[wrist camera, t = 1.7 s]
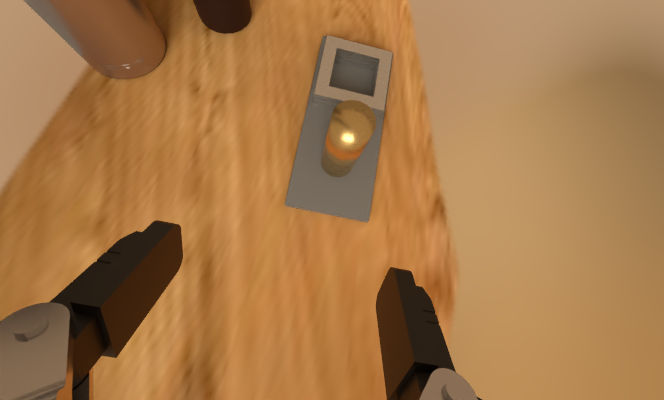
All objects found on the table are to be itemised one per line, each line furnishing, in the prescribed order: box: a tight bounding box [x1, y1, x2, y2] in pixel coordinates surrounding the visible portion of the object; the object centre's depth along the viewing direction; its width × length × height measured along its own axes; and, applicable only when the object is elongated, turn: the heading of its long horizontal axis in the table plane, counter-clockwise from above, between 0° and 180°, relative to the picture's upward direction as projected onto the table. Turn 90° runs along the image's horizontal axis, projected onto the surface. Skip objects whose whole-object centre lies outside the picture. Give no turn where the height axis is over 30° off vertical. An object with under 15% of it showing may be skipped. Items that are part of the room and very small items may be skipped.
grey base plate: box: [285, 36, 393, 222], centre depth 35 cm, size 24×10×1 cm, turn 170°
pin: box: [321, 100, 376, 177], centre depth 29 cm, size 4×4×10 cm
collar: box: [313, 35, 392, 121], centre depth 35 cm, size 9×9×2 cm
